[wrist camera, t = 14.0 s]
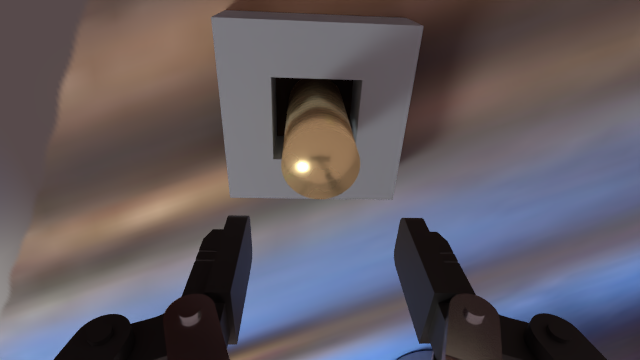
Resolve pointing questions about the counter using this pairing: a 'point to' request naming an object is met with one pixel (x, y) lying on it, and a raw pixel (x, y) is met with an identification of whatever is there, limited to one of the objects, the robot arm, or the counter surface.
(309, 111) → the brass cylinder
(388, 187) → the block
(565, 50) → the counter surface
